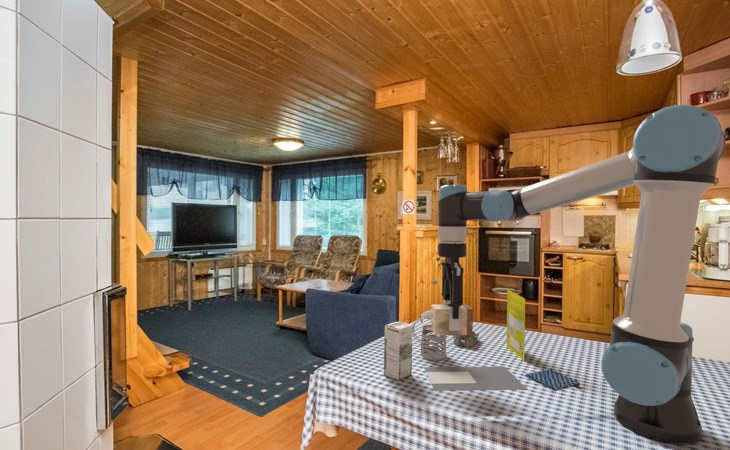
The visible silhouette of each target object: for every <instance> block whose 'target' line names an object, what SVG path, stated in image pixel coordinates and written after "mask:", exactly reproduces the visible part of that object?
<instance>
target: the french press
mask: <svg viewBox="0 0 730 450" xmlns="http://www.w3.org/2000/svg"><path fill="white" fill-rule="evenodd" d="M430 284H432V285H436V284H437V285H438V281H437V280H436V279H433V280H431V281H430ZM420 316H421V317H419V318H417V319H416V320H415V322H414V323H413V324H412V326H413V328H412V331H413V332H412V336H413V337H414V339H415V340H416V341H418V342H419V343H420V355H421V357H422V359H425V360H430V361H443V360H445V359H446V357H447V335H435V334H434V333H433V331H432V330H431V324H425V325H424V326H422V331H421V338H419V337H418V336H417V335H416V332H415V326H416V323H418V322H419V321H420V323H421V324H423V322H424V321H423V320H424V319H427V320H431V309H430V310H426V311H423V312H422V313H421V315H420ZM431 333H433V334H431Z"/></svg>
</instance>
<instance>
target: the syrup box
mask: <svg viewBox="0 0 730 450" xmlns="http://www.w3.org/2000/svg"><path fill="white" fill-rule="evenodd" d="M412 328H413V329H414V327H413V324H409V323H407V322H402V321H395V322H391V323H388V324H385V325H384V343H383V344H384V346H383V347H384V350H383V352H384V355H383V375H384V376H386V377H389V378H391V379H394V380H397V381H401V380H403V379H405V378H408V377H409V376H412V370H413V369H412V368H413V367H412V366H413V362H412V361H413V330H412Z"/></svg>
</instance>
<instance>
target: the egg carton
mask: <svg viewBox="0 0 730 450" xmlns="http://www.w3.org/2000/svg"><path fill="white" fill-rule="evenodd" d="M479 336H480V333H479V332H477V333H476V332H475V331H474V330H473V335H452V338H453V344H454V345H456V347H460V346H462V347H463V346H464V347H465V348H474V345H476V343H478V342H479Z"/></svg>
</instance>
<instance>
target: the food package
mask: <svg viewBox="0 0 730 450" xmlns="http://www.w3.org/2000/svg"><path fill="white" fill-rule="evenodd" d="M506 298H507V300H506V301H507V302H506V303H507V304H506V347H507V349H508V350H509V351H510V352H514V354H516V355H517V356H518V357H519V358H520V359H521V360H522V361H523V362H525V345H526V344H525V343H526V342H525V341H526V339H525V336H526V335H525V334H526V333H525V332H526V331H525V330H526V298H524V297H523V296H521V295H519V294H517V293H515V292H513V291H512V290H509V289H507V294H506Z"/></svg>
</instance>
